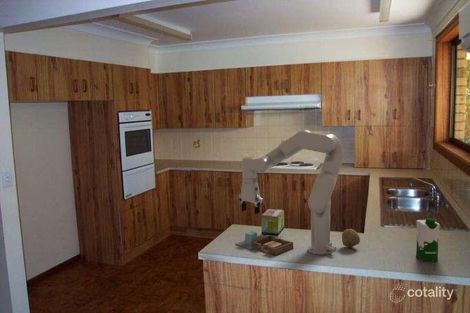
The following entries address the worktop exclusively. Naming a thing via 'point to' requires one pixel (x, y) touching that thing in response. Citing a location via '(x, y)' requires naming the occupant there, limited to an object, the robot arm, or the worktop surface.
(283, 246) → the crate
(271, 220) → the tea box
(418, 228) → the milk carton
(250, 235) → the teal block
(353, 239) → the natural sponge
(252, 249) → the slate pad
